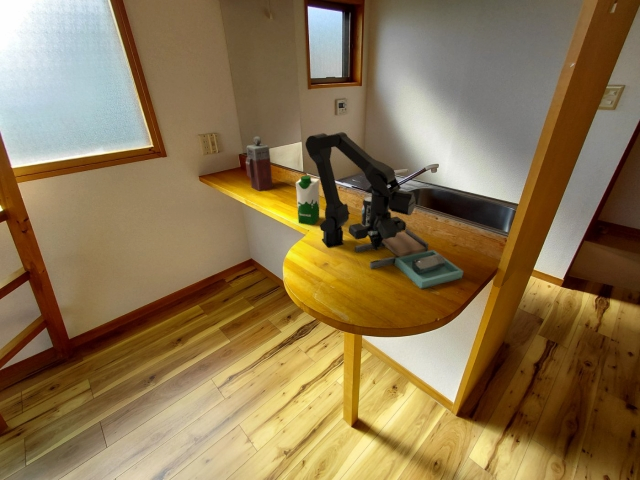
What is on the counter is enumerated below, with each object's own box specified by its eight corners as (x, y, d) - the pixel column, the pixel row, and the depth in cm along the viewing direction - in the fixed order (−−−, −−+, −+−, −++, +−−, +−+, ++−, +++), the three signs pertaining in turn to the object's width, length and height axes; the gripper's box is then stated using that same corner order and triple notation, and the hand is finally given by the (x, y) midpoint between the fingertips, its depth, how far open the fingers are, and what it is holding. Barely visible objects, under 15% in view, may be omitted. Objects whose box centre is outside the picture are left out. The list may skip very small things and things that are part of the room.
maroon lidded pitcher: (247, 188, 170) (240, 137, 156) (264, 184, 176) (259, 134, 163) (255, 192, 164) (249, 139, 150) (272, 188, 170) (268, 136, 157)
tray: (421, 289, 88) (422, 282, 86) (394, 264, 99) (395, 258, 98) (461, 278, 92) (463, 271, 91) (432, 255, 104) (433, 249, 102)
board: (399, 261, 99) (400, 253, 98) (379, 243, 110) (380, 236, 109) (424, 255, 102) (425, 247, 101) (402, 239, 113) (403, 231, 112)
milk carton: (295, 223, 128) (293, 178, 118) (303, 215, 136) (301, 171, 126) (315, 226, 125) (314, 179, 116) (321, 217, 133) (321, 173, 123)
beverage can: (365, 221, 130) (366, 194, 124) (379, 224, 127) (382, 197, 121) (358, 226, 124) (360, 199, 119) (373, 230, 121) (376, 202, 116)
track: (371, 269, 97) (372, 255, 95) (354, 251, 107) (355, 239, 105) (426, 256, 103) (428, 243, 101) (406, 240, 113) (407, 229, 111)
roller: (419, 276, 92) (422, 264, 90) (410, 268, 96) (413, 257, 94) (443, 270, 95) (446, 258, 93) (433, 263, 99) (436, 251, 96)
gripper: (366, 222, 85) (362, 267, 93) (420, 212, 91) (412, 256, 99) (348, 208, 94) (346, 250, 102) (398, 200, 100) (393, 240, 108)
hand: (375, 249), depth 102 cm, fingers closed
